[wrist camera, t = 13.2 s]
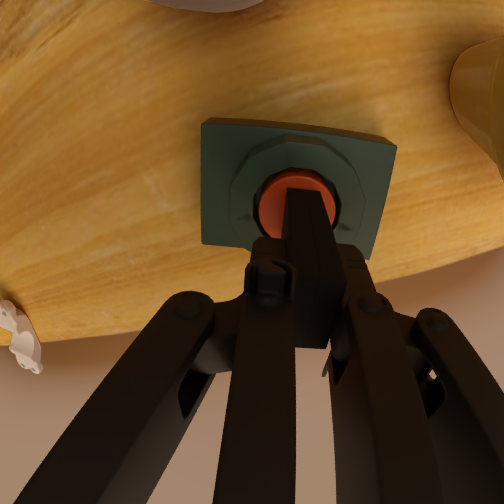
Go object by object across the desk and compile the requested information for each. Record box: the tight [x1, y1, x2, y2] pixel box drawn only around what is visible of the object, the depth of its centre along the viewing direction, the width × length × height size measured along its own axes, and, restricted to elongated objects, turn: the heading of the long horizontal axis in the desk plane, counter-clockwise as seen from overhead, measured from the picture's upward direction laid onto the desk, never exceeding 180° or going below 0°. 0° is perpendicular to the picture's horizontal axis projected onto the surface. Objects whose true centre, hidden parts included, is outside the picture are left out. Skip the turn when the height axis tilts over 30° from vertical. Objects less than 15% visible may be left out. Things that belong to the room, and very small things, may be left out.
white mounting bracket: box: [0, 298, 43, 374], centre depth 28 cm, size 12×2×4 cm
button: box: [259, 167, 336, 238], centre depth 15 cm, size 4×4×2 cm
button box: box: [201, 118, 397, 260], centre depth 16 cm, size 10×7×4 cm
